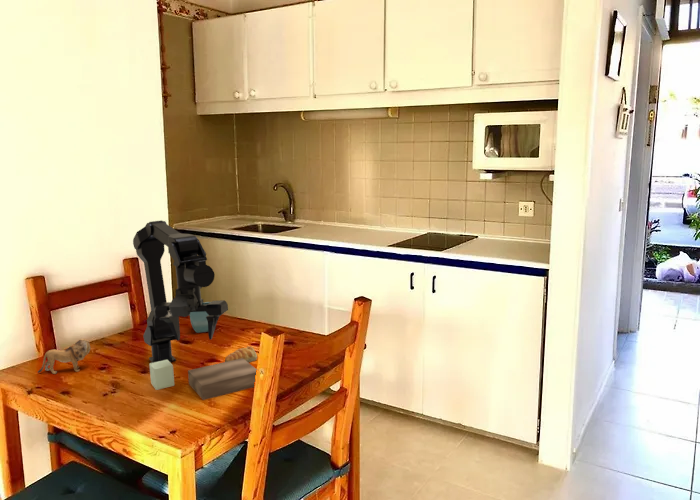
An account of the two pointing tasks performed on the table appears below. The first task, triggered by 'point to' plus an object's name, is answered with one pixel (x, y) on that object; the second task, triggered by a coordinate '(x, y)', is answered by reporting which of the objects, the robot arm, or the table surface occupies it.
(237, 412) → the table surface
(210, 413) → the table surface
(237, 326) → the table surface
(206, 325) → the flower pot
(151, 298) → the robot arm
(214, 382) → the walnut box
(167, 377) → the sage cube
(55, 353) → the lion figurine
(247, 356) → the pastry
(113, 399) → the table surface
